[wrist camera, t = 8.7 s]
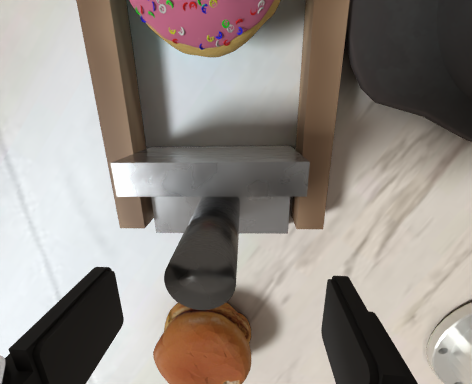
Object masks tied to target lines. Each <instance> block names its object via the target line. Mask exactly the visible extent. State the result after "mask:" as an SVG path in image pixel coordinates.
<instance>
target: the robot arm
mask: <svg viewBox="0 0 472 384" xmlns="http://www.w3.org/2000/svg"><path fill="white" fill-rule="evenodd" d="M122 324H123V313H122V308H121V303H120V298H119V293H118V288H117V282H116V277H115V273H114V271H112V270H111V269H110V268H109V267H95V268H94V269H93V270H91V271H90V272H89V273H88V274H87V275H86V276H85V277H84V278H83V279H82V280H81V281H80V282H79V283H78V284H77V285H76V286H75V287H74V288H72V289H71V290H70V291H69V292H68V293H67V294H66V295H65V296H64V297H63V298H62V299H61V300H60V301H59V302H58V303H57V304H56V305H55V306H54V307H52V308H51V309H50V310H49V311H48V312H47V313H46V314H45V315H44V316H43V317H42V318H41V319H40V320H39V321H38V322H37V323H36V324H35V325H33V326H32V327H31V328H30V329H29V330H28V331H27V332H26V333H25V334H24V335H23V336H22V337H21V338H20V339H19V340H18V341H17V342H16V343H15V344H13V345H12V346H11V347H10V348H9V352H10V354H9V355H8V356H7V357H6V358H4V357H2V356H0V384H86V382H87V381H88V379H89V378H90V376H91V374H92V373H93V371H94V370H95V368H96V367H97V365H98V363H99V362H100V360H101V359H102V357H103V355H104V354H105V352H106V351H107V349H108V348H109V346H110V344H111V343H112V341H113V340H114V338H115V336H116V335H117V333H118V332H119V330H120V329H121V327H122ZM322 338H323V342H324V345H325V348H326V352H327V355H328V358H329V362H330V365H331V368H332V372H333V375H334V378H335V382H336V384H418V383H417V382H416V380H415V378H414V377H413V375H412V373H411V372H410V370H409V368H408V367H407V365H406V363H405V362H404V360H403V358H402V357H401V355H400V353H399V352H398V350H397V348H396V347H395V345H394V343H393V342H392V340H391V338H390V337H389V335H388V333H387V332H386V330H385V329H384V327H383V325H382V324H381V322H380V320H379V319H378V317H377V316H376V314H375V313H373V312H368V310H367V308H366V307H365V305H364V303H363V302H362V300H361V298H360V296H359V295H358V293H357V291H356V289H355V288H354V286H353V284H352V282H351V281H350V279H349V277H347V276H333V277H332V279H328V282H327V289H326V297H325V305H324V313H323V321H322ZM426 354H427V360H428V363H429V365H430V367H431V369H432V370H433V371H434V373H435V374H436V375H437V377H438V378H439V379H440V380H441V381H442V382H443V383H444V384H472V302H471V303H469V304H466V305H464V306H463V307H461V308H459V309H457V310H455V311H454V312H453V313H451V314H450V315H449V316H447V317H446V318H445V319H444V320H443V321H442V322H441V323H440V324H439V325H438V326H437V327H436V329H435V330H434V332H433V333H432V335H431V337H430V339H429V342H428V344H427V352H426Z"/></svg>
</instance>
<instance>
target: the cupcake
mask: <svg viewBox="0 0 472 384" xmlns="http://www.w3.org/2000/svg"><path fill="white" fill-rule="evenodd" d="M129 1H130V3H131V4H132V6H133V7H134V9H135V10H136V12H137V14H139V15H140V18H141V20H142V22H144V23H146V24H147V25H148V26H149V27H150V28H151V29H152V30H153V31H154V32H155V33H156V34H157V35H158V36H159V37H161V38H162V39H163V40H165V41H166V42H167V43H169V44H170V45H171V46H173V47H174V48H176V49H177V50H179V51H181V52H183V53H186V54H190V55H198V56H205V57H220V56H223V55H226V54H228V53H231V52H233V51H235V50H236V49H238V48H239V47H241V46H242V45H243V44H244V43H246V42H247V41H248V40H249V39H250V38H251V37H252V36H253V35H254V34H255V33H256V32H257V31H258V30H259V29H260V27H261V26H262V25H263V24H264V23H265V22H266V21H267V20H268V19H269V18H270V17H271V16H272V15H273V14H274V13H275V11H276V9H277V7H278V5H279V3H280V1H281V0H129Z"/></svg>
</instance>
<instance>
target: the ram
mask: <svg viewBox="0 0 472 384" xmlns="http://www.w3.org/2000/svg"><path fill="white" fill-rule="evenodd" d="M309 166H310V162H309V161H308V160H307V159H306V158H305V157H303V156H302V155H301V154H300V153H299V152H297V151H296V150H295V149H294V148H292V147H291V146H205V147H150V148H147V149H144V150H142V151H139V152H137V153H134V154H132V155H129V156H127V157H124V158H122V159H119V160H117V161H114V162H112V163H111V168H112V173H113V178H114V184H115V189H116V194H117V197H151V198H152V205H153V212H154V220H155V227H156V233H184V234H183V236H182V238H181V240H180V242H179V244H178V246H177V248H176V250H175V252H174V254H173V256H172V258H171V260H170V262H169V264H168V266H167V268H166V271H165V275H164V281H165V286H166V288H167V290H168V292H169V294H170V295H171V296H172V297H173V298H174V299H175V300H176V301H177V302H178V303H180V304H182V305H184V306H186V307H188V308H192V309H196V310H210V309H214V308H217V307H220V306H221V305H223V304H225V303H226V302H227V301H228V300H229V299H230V298H231V297H232V295H233V293H234V291H235V287H236V272H237V254H238V236H239V233H288V222H289V206H290V197H307V189H308V177H309Z"/></svg>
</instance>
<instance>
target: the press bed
mask: <svg viewBox="0 0 472 384" xmlns="http://www.w3.org/2000/svg"><path fill="white" fill-rule="evenodd" d="M76 1H77V6H78V11H79V16H80V22H81V27H82V32H83V37H84V42H85V48H86V53H87V58H88V63H89V68H90V74H91V79H92V84H93V89H94V94H95V100H96V105H97V110H98V115H99V120H100V126H101V131H102V136H103V141H104V147H105V152H106V157H107V162H108V167H109V173H110V178H111V183H112V188H113V193H114V199H115V204H116V209H117V214H118V219H119V225H120V228H145V227H146V226H147V225H148V224H149V223H150V221H151V220H152V219H153V218H154V212H153V205H152V198H151V197H117V194H116V189H115V184H114V178H113V173H112V168H111V163H112V162H114V161H117V160H119V159H122V158H124V157H127V156H129V155H132V154H134V153H137V152H139V151H142V150H144V149H146V142H145V135H144V127H143V120H142V113H141V105H140V98H139V91H138V83H137V76H136V69H135V61H134V54H133V46H132V39H131V32H130V24H129V17H128V10H127V2H126V0H76ZM349 2H350V0H306V4H305V19H304V34H303V48H302V63H301V78H300V93H299V108H298V123H297V138H296V151H297V152H299V153H300V154H301V155H302V156H303V157H305V158H306V159H307V160H308V161H309V162H310V166H309V177H308V189H307V197H293V198H292V213H291V216H292V219H293V221H294V224H295V226H296V228H297V229H323V225H324V216H325V207H326V199H327V190H328V182H329V173H330V165H331V156H332V147H333V139H334V130H335V122H336V113H337V105H338V96H339V87H340V79H341V70H342V62H343V53H344V44H345V36H346V27H347V19H348V10H349Z"/></svg>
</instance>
